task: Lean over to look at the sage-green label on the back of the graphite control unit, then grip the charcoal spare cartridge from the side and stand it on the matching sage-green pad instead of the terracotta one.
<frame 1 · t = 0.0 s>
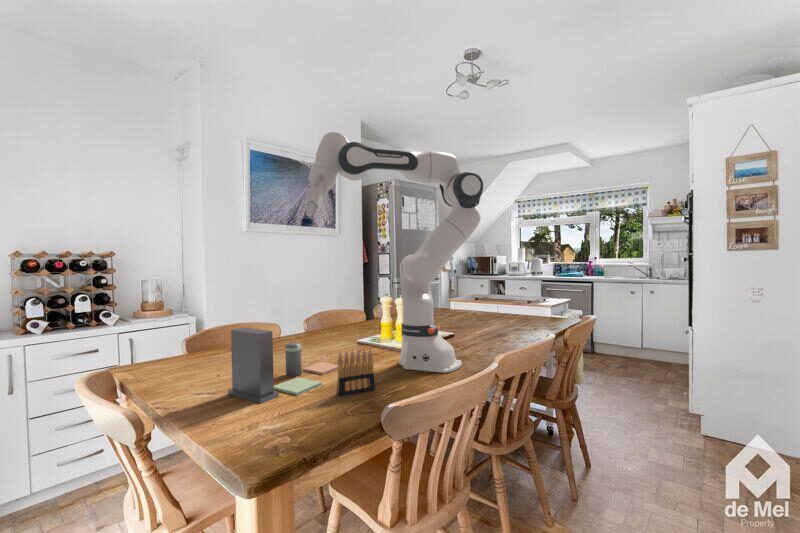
hand: (309, 217, 132), 52 cm above the table, tool tilted 20°, fingers open, 8 cm apart
sage green pad: (297, 387, 115), on the table
ammunition clip: (356, 393, 110), on the table
spare cartridge: (293, 374, 127), on the table
terracotta pad: (322, 369, 133), on the table
control unit: (253, 395, 109), on the table
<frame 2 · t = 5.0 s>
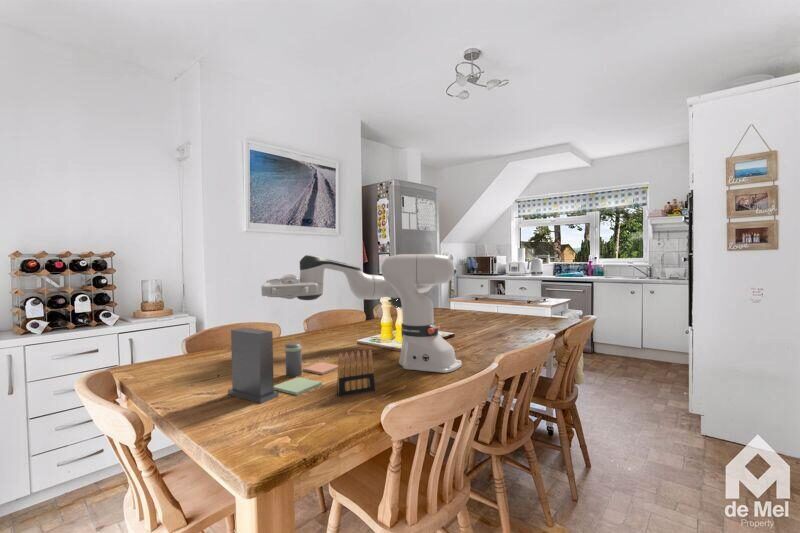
hand: (290, 291, 138), 26 cm above the table, tool horizontal, fingers open, 8 cm apart
nothing on the table moved.
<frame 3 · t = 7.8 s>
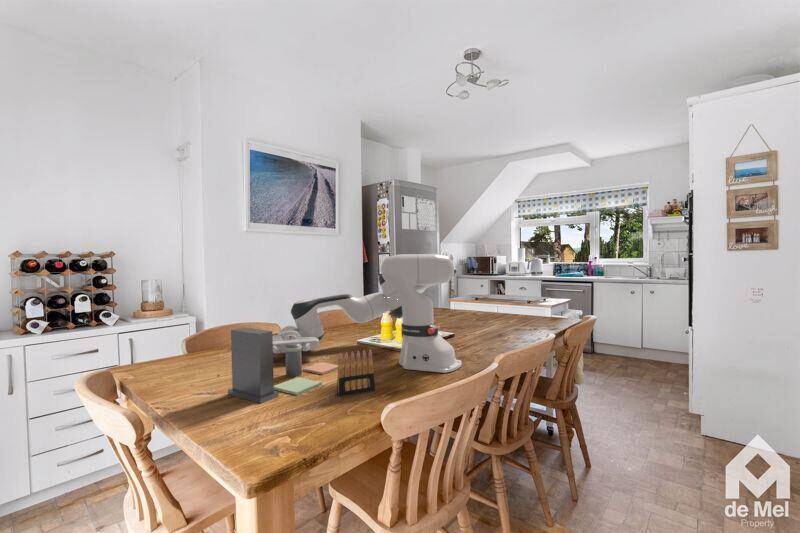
hand: (291, 350, 136), 6 cm above the table, tool horizontal, fingers open, 8 cm apart
nothing on the table moved.
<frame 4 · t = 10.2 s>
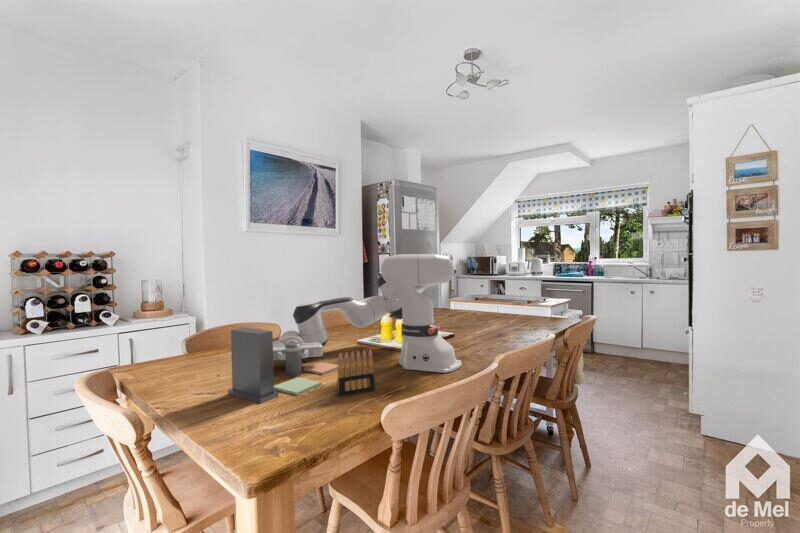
hand: (293, 357, 126), 6 cm above the table, tool horizontal, fingers closed on spare cartridge, 5 cm apart
spare cartridge: (293, 374, 127), on the table, touching gripper
everything else where it was.
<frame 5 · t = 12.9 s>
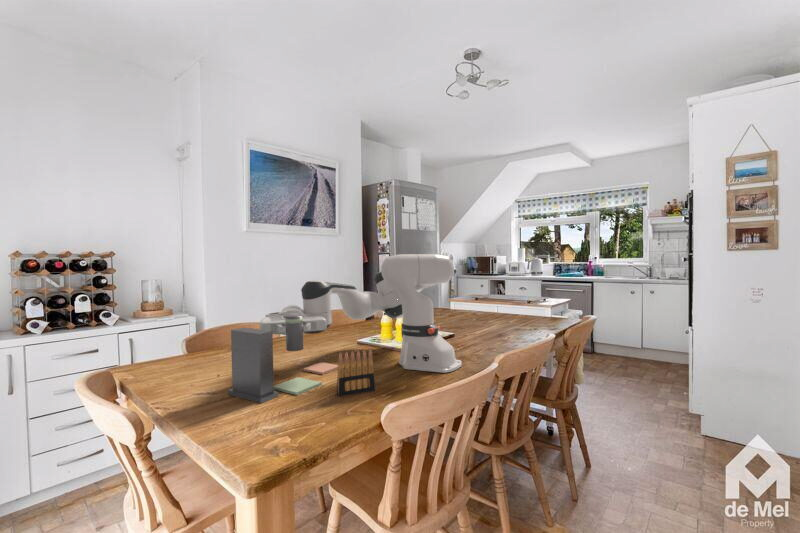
hand: (294, 329, 116), 17 cm above the table, tool horizontal, fingers closed on spare cartridge, 5 cm apart
spare cartridge: (294, 349, 117), point 11 cm above the table, touching gripper
everything else where it was.
when the fingers open (8 cm above the table, at t = 15.8 s): spare cartridge stays where it is, resting on sage green pad.
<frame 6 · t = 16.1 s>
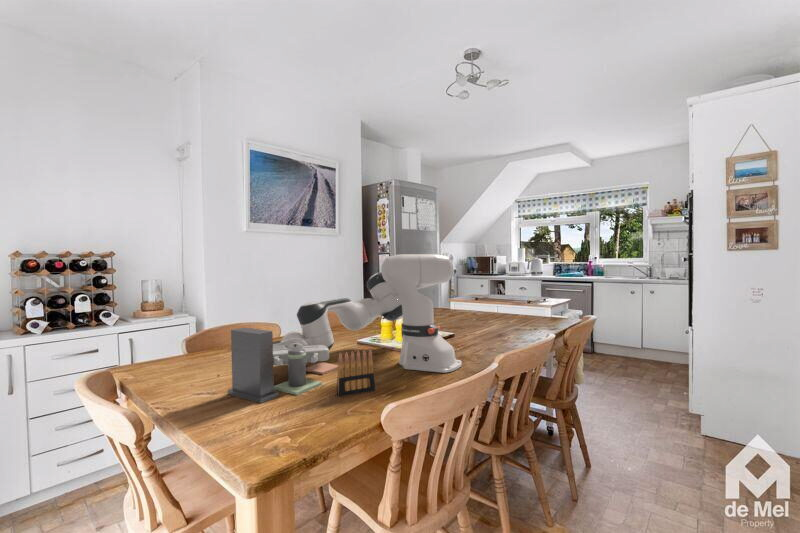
hand: (297, 361, 114), 8 cm above the table, tool horizontal, fingers open, 8 cm apart
spare cartridge: (297, 384, 115), point 1 cm above the table, touching sage green pad
everything else where it was.
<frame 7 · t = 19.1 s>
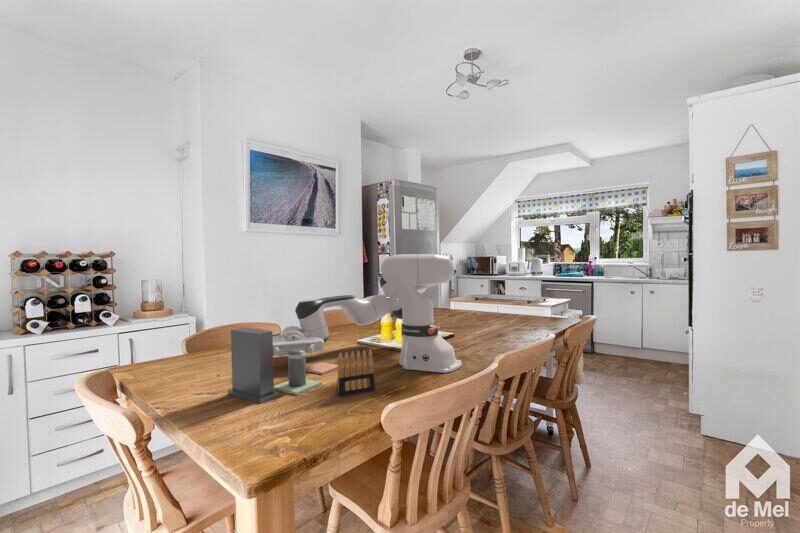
hand: (295, 351, 126), 8 cm above the table, tool horizontal, fingers open, 8 cm apart
nothing on the table moved.
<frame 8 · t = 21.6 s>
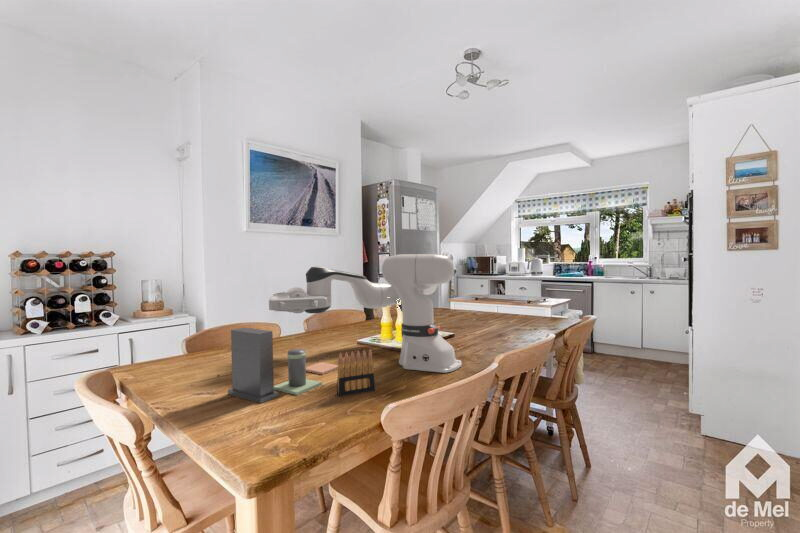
hand: (299, 305, 132), 22 cm above the table, tool horizontal, fingers open, 8 cm apart
nothing on the table moved.
at the end: spare cartridge inside the target area on the sage green pad (0.1 cm from its centre), point 0.8 cm above the sage green pad's base; spare cartridge tilted 0°; the gripper is holding nothing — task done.
